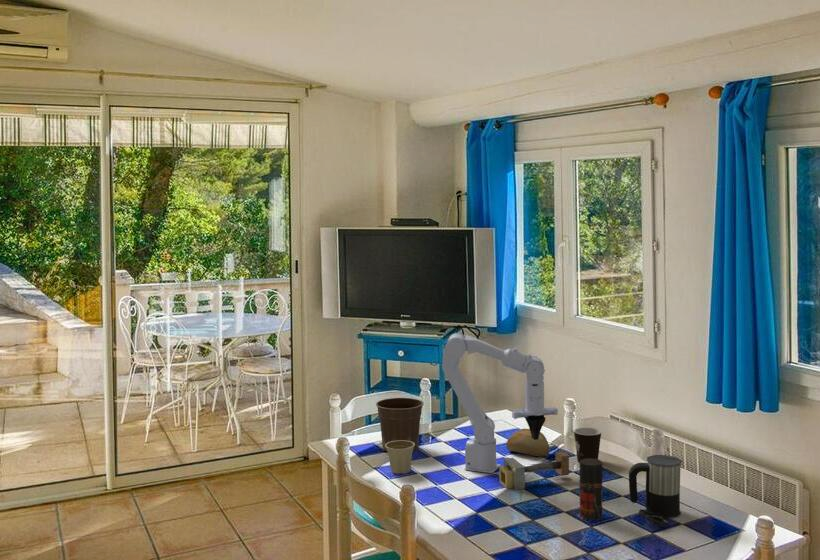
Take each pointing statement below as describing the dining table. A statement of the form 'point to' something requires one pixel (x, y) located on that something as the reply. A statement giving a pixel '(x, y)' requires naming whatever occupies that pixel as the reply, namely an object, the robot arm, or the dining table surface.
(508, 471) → the frame
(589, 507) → the deodorant
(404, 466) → the flower pot
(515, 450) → the bread roll
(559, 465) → the shaft
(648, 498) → the milk frother
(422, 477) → the dining table surface
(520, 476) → the bearing
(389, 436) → the plant pot
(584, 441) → the coffee mug
